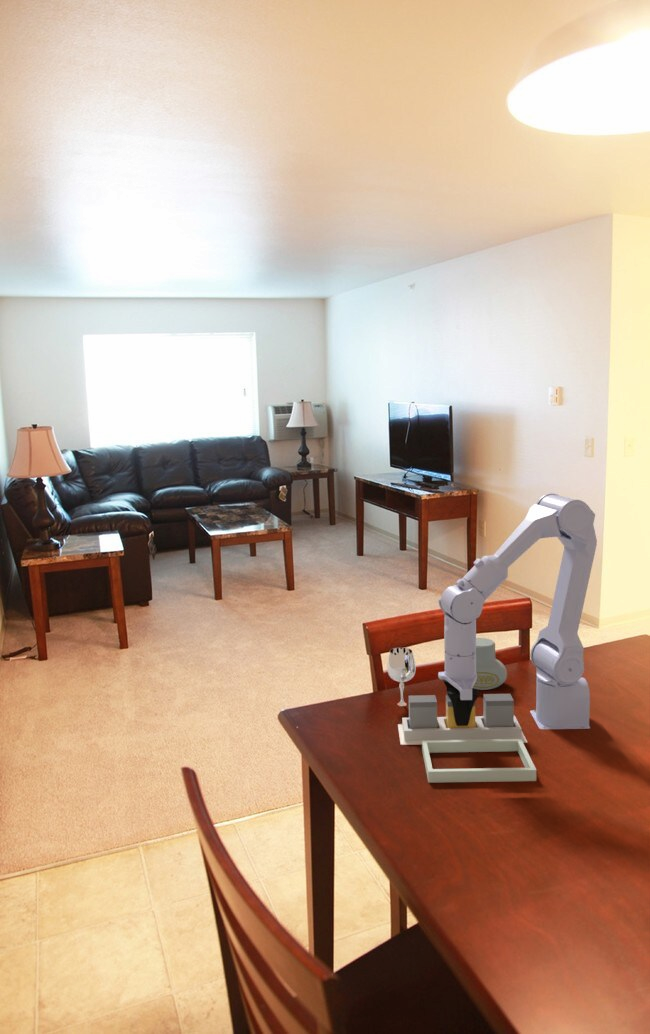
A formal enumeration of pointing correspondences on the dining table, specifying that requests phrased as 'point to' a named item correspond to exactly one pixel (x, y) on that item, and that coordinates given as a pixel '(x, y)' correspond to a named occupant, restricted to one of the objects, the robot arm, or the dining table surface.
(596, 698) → the dining table surface
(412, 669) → the wineglass
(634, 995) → the dining table surface
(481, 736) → the fuse holder
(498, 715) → the block
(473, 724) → the block
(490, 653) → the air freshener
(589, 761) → the dining table surface
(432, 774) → the tray
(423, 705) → the block
